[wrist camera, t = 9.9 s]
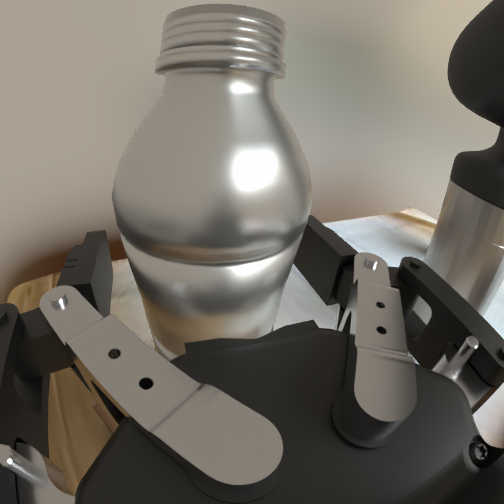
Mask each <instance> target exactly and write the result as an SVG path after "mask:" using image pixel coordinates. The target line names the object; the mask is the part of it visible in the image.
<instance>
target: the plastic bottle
mask: <svg viewBox="0 0 504 504" xmlns="http://www.w3.org/2000/svg"><path fill="white" fill-rule="evenodd" d="M285 34H286V29H285V22H284V21H283V20H282V19H281V18H279V17H278V16H276V15H274V14H272V13H269V12H267V11H264V10H260V9H257V8H252V7H247V6H241V5H232V4H205V5H197V6H190V7H186V8H182V9H178V10H176V11H174V12H172V13H170V14H169V15H167V17H166V18H165V23H164V25H163V33H162V42H161V51H160V57H158V58H157V59H156V68H155V73H156V74H160V75H165V83H164V87H163V92H162V95H161V96H160V98H159V99H158V100H157V102H156V103H155V104H154V106H153V107H152V108H151V109H150V111H149V112H148V114H147V115H146V116H145V118H144V119H143V121H142V122H141V123H140V125H139V126H138V128H137V129H136V130H135V132H134V134H133V136H132V137H131V139H130V141H129V143H128V145H127V147H126V149H125V150H124V152H123V154H122V156H121V158H120V160H119V162H118V166H117V170H116V175H115V181H114V186H113V192H112V200H113V206H114V211H115V216H116V221H117V226H118V228H119V230H120V235H121V239H122V242H123V245H124V248H125V251H126V255H127V258H128V261H129V264H130V267H131V270H132V272H133V275H134V278H135V281H136V284H137V286H138V289H139V292H140V295H141V297H142V301H143V305H144V309H145V313H146V316H147V320H148V323H149V326H150V329H151V333H152V337H153V340H154V345H155V351H156V352H157V353H159V354H160V355H161V356H163V357H164V358H165V359H166V360H168V361H171V360H172V359H174V358H176V357H178V356H180V355H183V354H186V353H185V345H184V343H189V342H196V341H203V340H209V339H216V338H236V339H255V338H259V337H261V336H264V335H266V334H268V333H271V332H272V331H273V326H274V323H275V320H276V316H277V312H278V308H279V304H280V300H281V296H282V292H283V289H284V287H285V284H286V281H287V278H288V276H289V273H290V270H291V267H292V264H293V262H294V259H295V256H296V253H297V250H298V247H299V244H300V242H301V239H302V236H303V232H304V229H305V227H306V224H307V221H308V216H309V212H310V208H311V204H312V200H313V194H312V186H311V178H310V170H309V165H308V163H307V160H306V158H305V155H304V153H303V151H302V148H301V146H300V144H299V141H298V139H297V137H296V135H295V133H294V131H293V129H292V127H291V126H290V124H289V122H288V121H287V119H286V117H285V115H284V114H283V112H282V110H281V109H280V107H279V105H278V104H277V102H276V101H275V99H274V87H273V85H274V80H275V79H283V78H285V68H286V64H285V63H284V62H283V54H284V43H285Z"/></svg>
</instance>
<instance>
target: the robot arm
mask: <svg viewBox="0 0 504 504" xmlns="http://www.w3.org/2000/svg"><path fill="white" fill-rule="evenodd" d="M448 80H449V85H450V87H451V89H452V92H453V94H454V95H455V97H456V98H457V99H458V101H459V102H460V103H462V104H463V105H464V106H465V107H466V108H468V109H469V110H471V111H472V112H474V113H476V114H477V115H479V116H481V117H483V118H485V119H487V120H489V121H491V122H493V123H495V124H496V125H498V126H500V131H499V135H498V138H497V141H496V143H495V144H494V145H493V146H492V147H490V148H488V149H485V150H481V151H467V152H461V153H459V154H458V155H457V156H456V158H455V160H454V163H453V167H452V171H451V176H450V180H449V184H448V188H447V192H446V195H445V198H444V202H443V205H442V209H441V213H440V215H439V219H438V222H437V225H436V228H435V231H434V234H433V236H432V239H431V242H430V245H429V247H428V250H427V253H426V255H425V258H424V261H421V260H419V259H416V258H413V257H404V258H402V260H401V263H400V266H399V268H398V267H388V266H387V263H386V262H385V261H384V260H383V259H382V258H380V257H379V256H377V255H374V254H371V253H358V252H357V251H356V250H355V249H353V248H352V247H351V246H350V245H349V244H348V243H347V242H345V241H344V240H343V239H342V238H341V237H339V235H337V234H336V233H335V232H334V231H333V230H331V229H329V228H327V227H325V226H324V225H323V224H322V223H320V222H319V221H318V220H317V219H316V218H315V217H313V216H311V215H309V216H308V221H307V224H306V227H305V229H304V232H303V236H302V239H301V242H300V244H299V247H298V250H297V253H296V256H295V259H294V262H293V263H294V265H295V266H296V267H297V268H298V270H299V271H300V272H301V274H302V275H303V276H304V277H305V279H306V280H307V281H308V282H309V284H310V285H311V286H312V287H313V289H314V290H315V291H316V292H317V294H318V295H319V296H320V298H321V299H322V300H323V301H324V303H325V304H326V305H327V306H328V305H333V304H337V303H339V304H340V305H339V308H338V311H337V317H336V324H335V330H333V329H325V328H319V327H318V326H317V324H316V323H315V321H314V320H310V321H305V322H301V323H296V324H292V325H287V326H284V327H282V328H279V329H277V330H275V331H273V332H271V333H268V334H266V335H264V336H261V337H259V338H255V339H236V338H216V339H209V340H203V341H196V342H189V343H184V345H185V353H186V354H183V355H180V356H178V357H176V358H174V359H172V360H171V361H168V360H166V359H165V358H164V357H163V356H161V355H160V354H159V353H157V352H156V351H155V350H154V349H152V348H151V347H150V346H149V345H148V344H146V343H145V342H144V341H143V340H142V339H140V338H139V337H138V336H137V335H136V334H134V333H133V332H132V331H131V330H130V329H129V328H128V327H126V326H125V325H124V324H123V323H122V322H121V321H120V320H119V319H117V318H116V317H115V316H114V315H112V314H110V302H111V292H112V283H113V269H112V262H111V257H110V252H109V246H108V240H107V235H106V231H105V230H102V231H92V232H87V234H86V237H85V240H84V242H83V245H77V246H75V247H74V248H73V249H72V250H71V251H70V252H69V254H68V256H67V259H66V262H65V264H64V268H63V269H62V272H61V275H60V278H59V281H58V283H57V286H56V287H55V288H52V289H50V290H49V291H47V292H46V293H45V294H44V295H43V296H42V298H41V300H40V303H39V306H40V307H39V308H37V309H34V310H31V311H28V312H25V313H22V314H20V313H19V311H18V309H17V307H16V306H15V305H14V304H10V303H5V304H1V305H0V504H504V449H503V448H496V447H493V446H490V445H488V444H487V443H486V442H485V441H484V440H483V438H482V437H481V435H480V433H479V431H478V429H477V427H476V424H475V422H474V419H473V416H472V415H473V414H474V413H475V412H476V411H477V410H478V409H479V408H480V407H481V406H482V405H483V404H484V403H485V402H486V401H487V400H488V399H489V398H490V397H491V396H492V395H493V393H494V392H495V391H496V390H497V389H498V388H499V387H500V386H501V385H502V383H503V382H504V339H503V338H502V337H501V336H500V335H499V334H498V333H497V332H496V331H495V329H494V328H493V327H492V326H491V325H490V324H489V323H488V322H487V321H486V320H485V319H484V318H483V316H484V314H485V312H486V311H487V309H488V307H489V305H490V304H491V302H492V300H493V298H494V296H495V294H496V292H497V291H498V289H499V287H500V285H501V283H502V281H503V279H504V0H493V1H492V2H491V3H490V4H489V5H487V6H486V7H485V8H484V9H483V10H482V11H481V12H480V13H479V14H478V15H477V16H476V17H475V18H474V19H473V20H472V21H471V22H470V23H469V24H468V25H467V26H466V27H465V29H464V30H463V31H462V33H461V34H460V35H459V37H458V39H457V40H456V42H455V44H454V47H453V49H452V51H451V54H450V58H449V63H448ZM407 349H408V350H409V351H410V353H411V354H412V355H413V357H414V358H415V359H416V360H417V362H418V363H419V364H420V365H418V364H416V363H414V360H413V358H412V357H409V356H408V352H407ZM68 367H70V369H71V370H72V372H73V373H74V374H75V376H76V377H77V378H78V379H79V381H80V382H81V383H82V384H83V386H84V387H85V388H86V389H87V391H88V392H89V393H90V394H91V395H92V397H93V398H94V399H95V400H96V401H97V403H98V404H99V405H100V406H101V408H102V409H103V410H104V412H105V413H106V414H107V415H108V417H109V418H110V419H111V420H112V421H113V422H114V423H115V424H116V425H117V426H118V427H117V428H116V430H115V431H114V433H113V434H112V436H111V437H110V439H109V440H108V442H107V443H106V445H105V446H104V447H103V449H102V450H101V452H100V453H99V455H98V456H97V458H96V459H95V461H94V462H93V464H92V465H91V467H90V468H89V470H88V471H87V472H86V474H85V475H84V477H83V478H82V480H81V482H80V483H79V485H78V488H77V491H76V495H75V496H74V495H73V494H72V493H71V492H70V490H69V489H68V487H67V484H66V481H65V477H64V475H63V473H62V471H61V470H60V468H59V467H58V466H57V465H56V464H54V463H53V462H52V461H50V460H49V449H48V396H49V380H50V373H53V372H56V371H59V370H62V369H65V368H68Z"/></svg>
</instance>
